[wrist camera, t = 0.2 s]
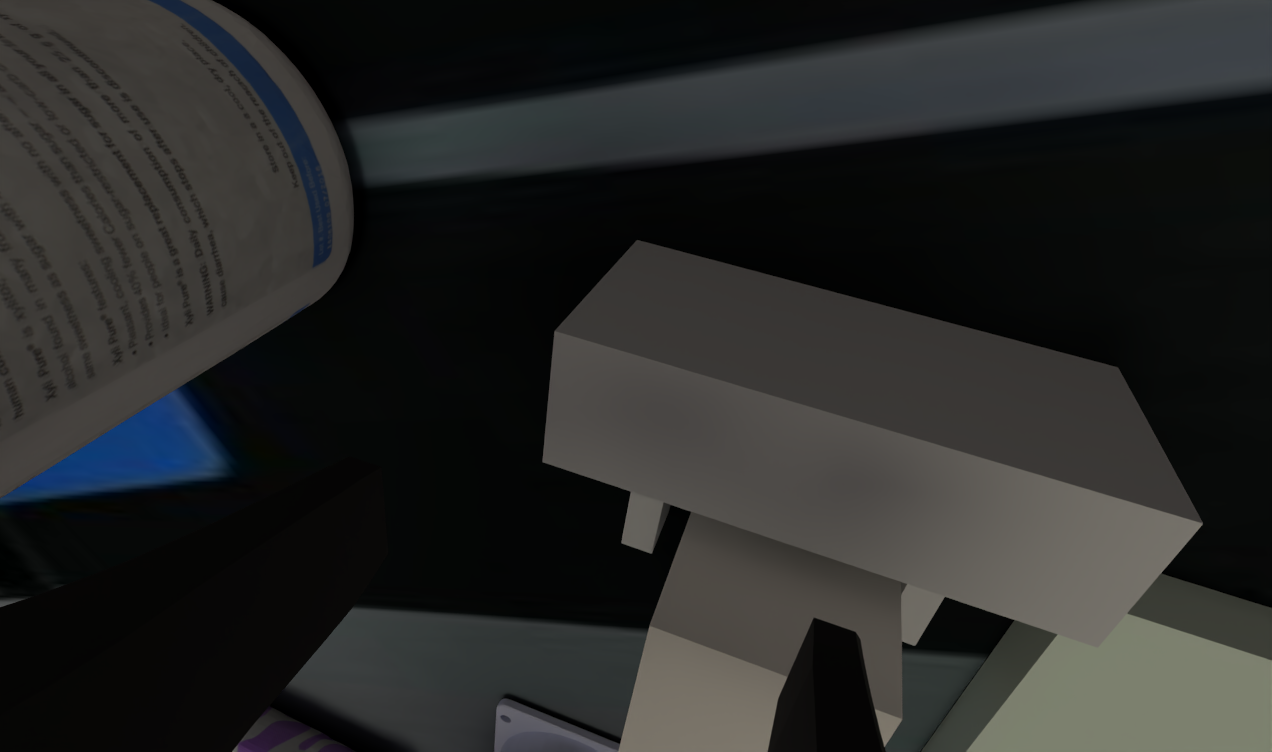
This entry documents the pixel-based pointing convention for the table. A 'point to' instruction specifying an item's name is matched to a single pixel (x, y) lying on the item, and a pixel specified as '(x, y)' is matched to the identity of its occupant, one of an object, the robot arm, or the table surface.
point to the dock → (867, 441)
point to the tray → (1127, 683)
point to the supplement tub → (148, 209)
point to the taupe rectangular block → (751, 639)
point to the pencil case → (285, 736)
